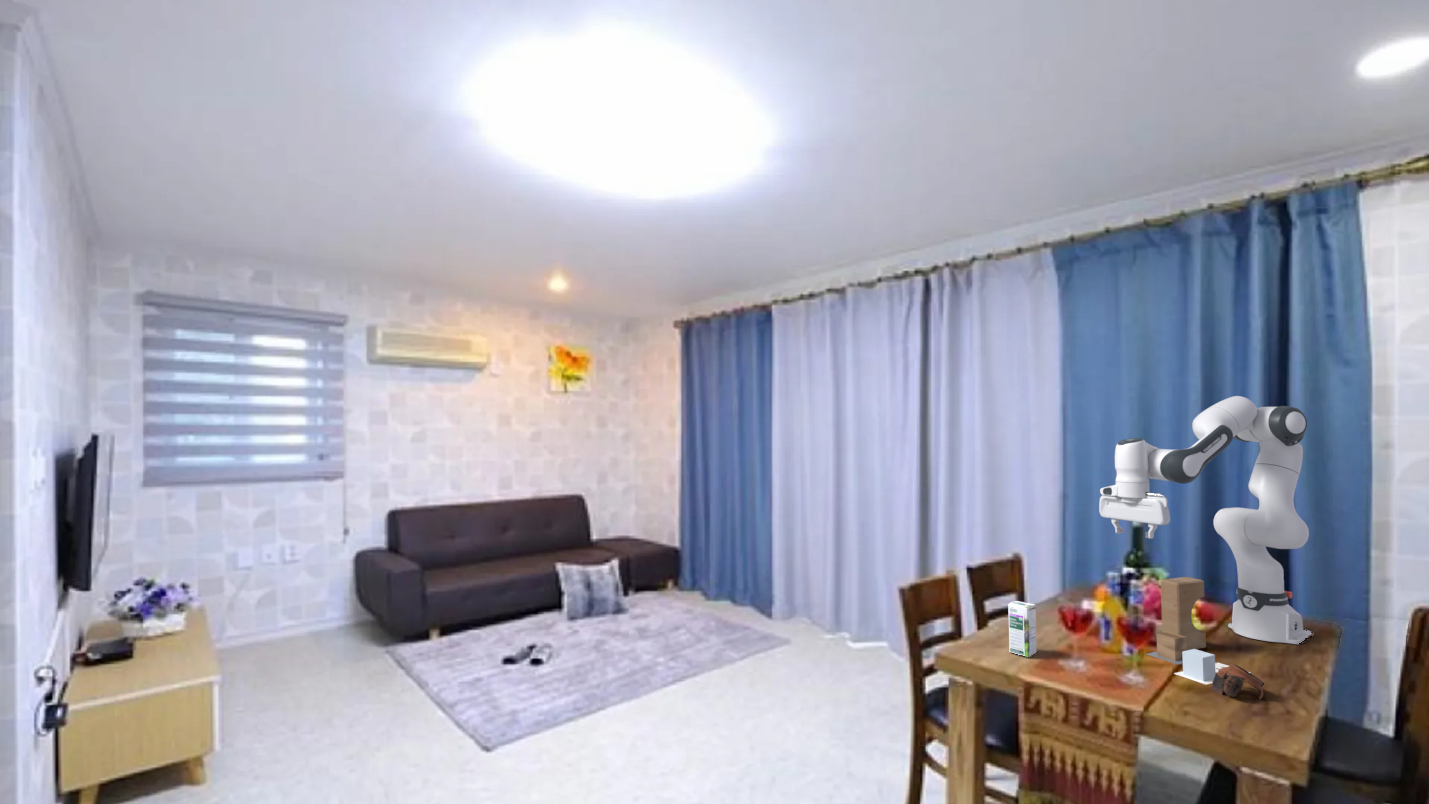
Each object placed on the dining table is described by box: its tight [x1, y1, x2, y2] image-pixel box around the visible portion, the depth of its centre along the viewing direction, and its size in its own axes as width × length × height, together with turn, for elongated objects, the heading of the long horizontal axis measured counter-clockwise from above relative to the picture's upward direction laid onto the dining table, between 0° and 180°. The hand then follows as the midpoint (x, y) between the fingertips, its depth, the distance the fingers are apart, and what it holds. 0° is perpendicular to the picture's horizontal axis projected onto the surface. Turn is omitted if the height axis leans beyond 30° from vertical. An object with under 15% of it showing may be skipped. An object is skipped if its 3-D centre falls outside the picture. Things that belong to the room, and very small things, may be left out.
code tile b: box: [1173, 670, 1214, 686], centre depth 171 cm, size 8×8×1 cm
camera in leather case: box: [1210, 662, 1265, 701], centre depth 159 cm, size 12×10×8 cm
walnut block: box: [1156, 632, 1187, 661], centre depth 185 cm, size 5×5×6 cm
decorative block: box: [1160, 576, 1207, 650], centre depth 194 cm, size 11×6×20 cm, turn 107°
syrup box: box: [1007, 600, 1038, 658], centre depth 190 cm, size 6×6×14 cm
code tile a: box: [1215, 662, 1252, 674], centre depth 175 cm, size 8×8×1 cm
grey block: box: [1182, 649, 1216, 681], centre depth 171 cm, size 5×5×6 cm
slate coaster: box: [1146, 651, 1183, 666], centre depth 185 cm, size 9×9×1 cm
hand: (1134, 535), depth 202 cm, fingers open, 8 cm apart
